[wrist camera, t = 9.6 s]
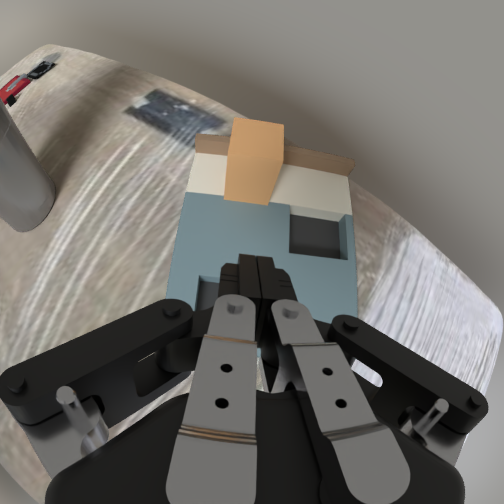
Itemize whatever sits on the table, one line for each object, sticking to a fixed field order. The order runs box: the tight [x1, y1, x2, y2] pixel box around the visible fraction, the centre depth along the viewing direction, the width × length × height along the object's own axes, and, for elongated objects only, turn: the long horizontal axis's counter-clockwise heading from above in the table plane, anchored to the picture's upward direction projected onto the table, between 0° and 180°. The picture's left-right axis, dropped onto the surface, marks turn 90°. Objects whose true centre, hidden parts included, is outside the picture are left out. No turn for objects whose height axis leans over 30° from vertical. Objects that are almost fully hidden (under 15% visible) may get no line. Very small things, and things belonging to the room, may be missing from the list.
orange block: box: [224, 117, 284, 205], centre depth 29 cm, size 5×5×8 cm
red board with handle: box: [0, 61, 55, 107], centre depth 37 cm, size 30×3×15 cm
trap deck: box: [165, 134, 357, 357], centre depth 30 cm, size 20×24×5 cm
